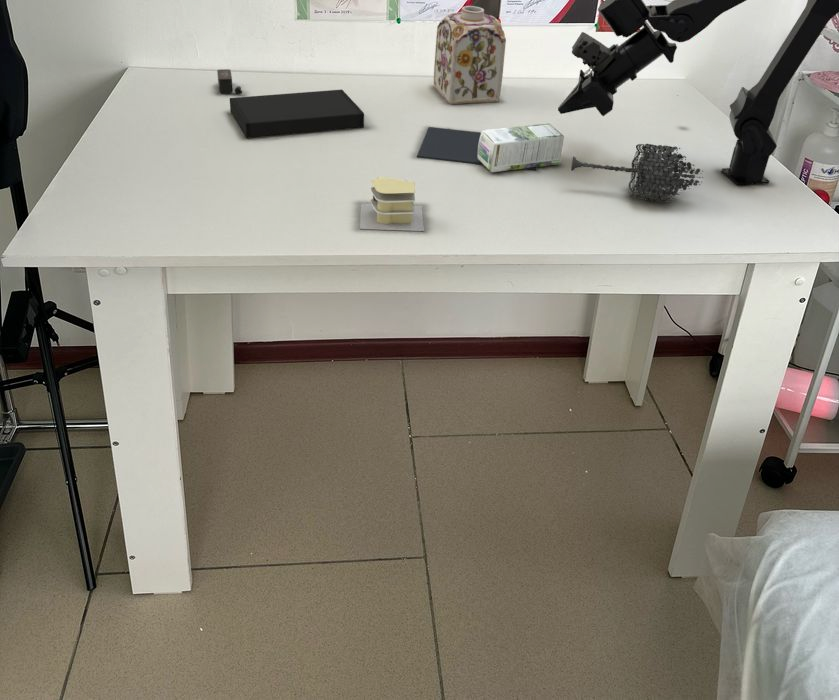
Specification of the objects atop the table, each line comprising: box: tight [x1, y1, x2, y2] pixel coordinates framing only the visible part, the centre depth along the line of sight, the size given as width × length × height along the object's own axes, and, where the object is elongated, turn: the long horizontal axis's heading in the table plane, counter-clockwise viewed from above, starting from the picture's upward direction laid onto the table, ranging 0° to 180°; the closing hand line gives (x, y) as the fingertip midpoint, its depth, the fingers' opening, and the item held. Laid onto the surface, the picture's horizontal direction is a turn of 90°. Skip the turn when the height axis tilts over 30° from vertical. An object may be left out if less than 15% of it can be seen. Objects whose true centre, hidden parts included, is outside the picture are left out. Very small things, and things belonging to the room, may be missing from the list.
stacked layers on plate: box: [359, 176, 425, 232], centre depth 144 cm, size 10×9×6 cm
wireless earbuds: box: [216, 68, 243, 95], centre depth 189 cm, size 5×7×3 cm, turn 13°
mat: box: [416, 126, 538, 172], centre depth 171 cm, size 22×15×1 cm
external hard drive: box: [229, 89, 365, 139], centre depth 177 cm, size 14×23×3 cm, turn 112°
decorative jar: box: [433, 5, 507, 105], centre depth 191 cm, size 12×12×18 cm
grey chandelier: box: [570, 143, 704, 203], centre depth 155 cm, size 9×22×9 cm, turn 82°
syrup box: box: [478, 123, 565, 173], centre depth 164 cm, size 6×6×14 cm
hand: (559, 111), depth 165 cm, fingers closed
